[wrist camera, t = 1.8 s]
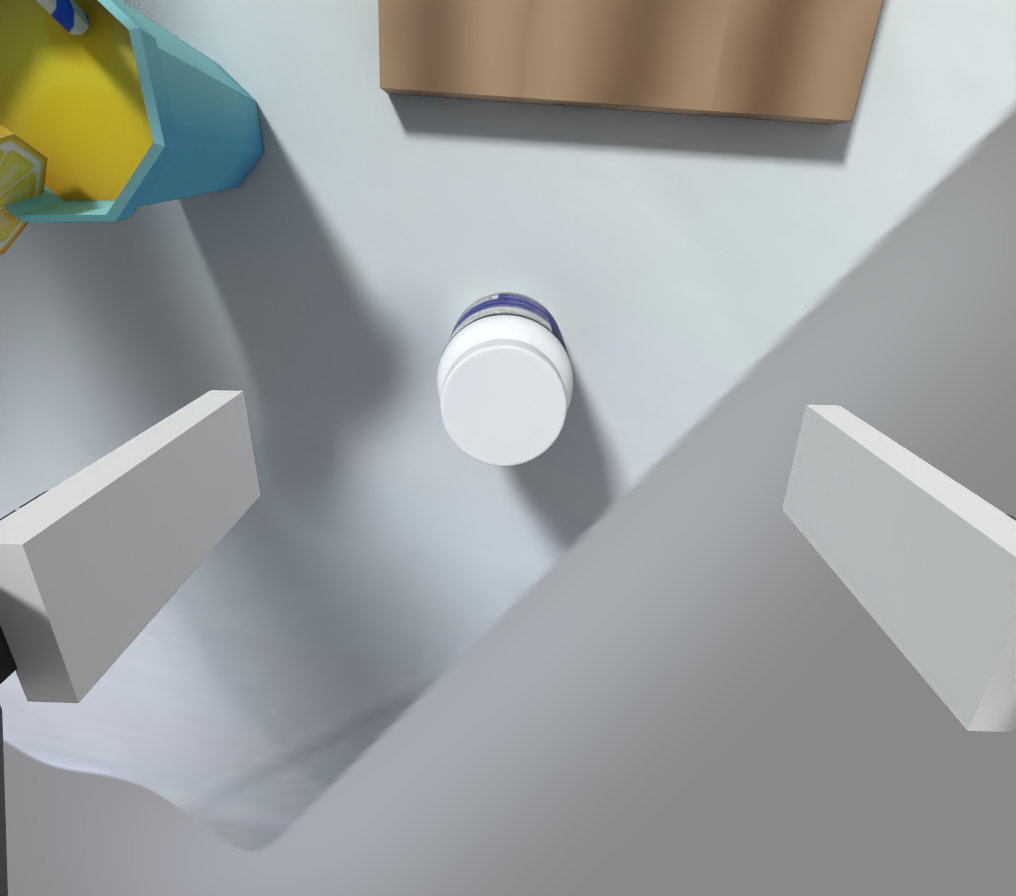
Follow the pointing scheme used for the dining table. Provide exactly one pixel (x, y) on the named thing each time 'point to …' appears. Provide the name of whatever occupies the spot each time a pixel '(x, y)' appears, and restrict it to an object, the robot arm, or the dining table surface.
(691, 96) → the socket
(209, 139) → the cup
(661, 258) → the dining table surface
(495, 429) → the pill bottle
